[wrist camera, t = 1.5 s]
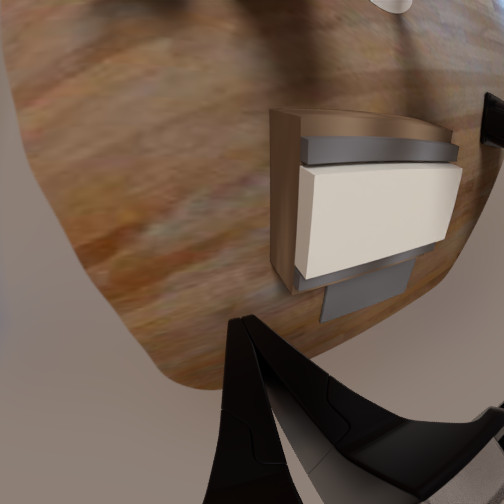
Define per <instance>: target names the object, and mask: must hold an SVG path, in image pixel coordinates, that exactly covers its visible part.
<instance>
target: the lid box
mask: <svg viewBox="0 0 504 504" xmlns="http://www.w3.org/2000/svg"><path fill="white" fill-rule="evenodd" d="M452 132H453V131H452V130H450V129H447V128H444V127H441V126H438V125H435V124H432V123H429V122H426V121H423V120H419V119H416V118H411V117H404V116H397V115H389V114H381V113H372V112H361V111H349V110H331V109H270V262H271V263H272V265H273V266H274V268H275V269H276V271H277V273H278V274H279V276H280V277H281V279H282V280H283V282H284V283H285V285H286V287H287V288H288V290H289V291H290V293H291V294H292V295H295V294H299V293H302V292H306V291H310V290H313V289H317V288H320V287H324V286H327V285H331V284H334V283H337V282H341V281H344V280H348V279H351V278H354V277H357V276H361V275H364V274H367V273H370V272H374V271H377V270H380V269H383V268H386V267H389V266H392V265H395V264H398V263H401V262H404V261H407V260H410V259H413V258H416V257H419V256H422V255H424V253H426V252H429V251H432V250H433V249H434V246H435V243H436V242H433V243H430V244H427V245H424V246H421V247H418V248H414V249H411V250H408V251H405V252H401V253H398V254H395V255H392V256H388V257H385V258H381V259H378V260H375V261H371V262H368V263H364V264H361V265H357V266H354V267H350V268H346V269H343V270H339V271H336V272H332V273H328V274H325V275H321V276H317V277H313V278H310V279H305V278H304V276H303V275H302V274H301V272H300V271H299V270H298V268H297V267H296V266H295V250H296V235H297V217H298V197H299V172H300V166H304V165H316V164H330V163H347V162H371V161H445V162H448V161H455V162H456V161H457V156H458V150H459V146H457V145H454V144H452V143H451V139H452Z"/></svg>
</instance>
